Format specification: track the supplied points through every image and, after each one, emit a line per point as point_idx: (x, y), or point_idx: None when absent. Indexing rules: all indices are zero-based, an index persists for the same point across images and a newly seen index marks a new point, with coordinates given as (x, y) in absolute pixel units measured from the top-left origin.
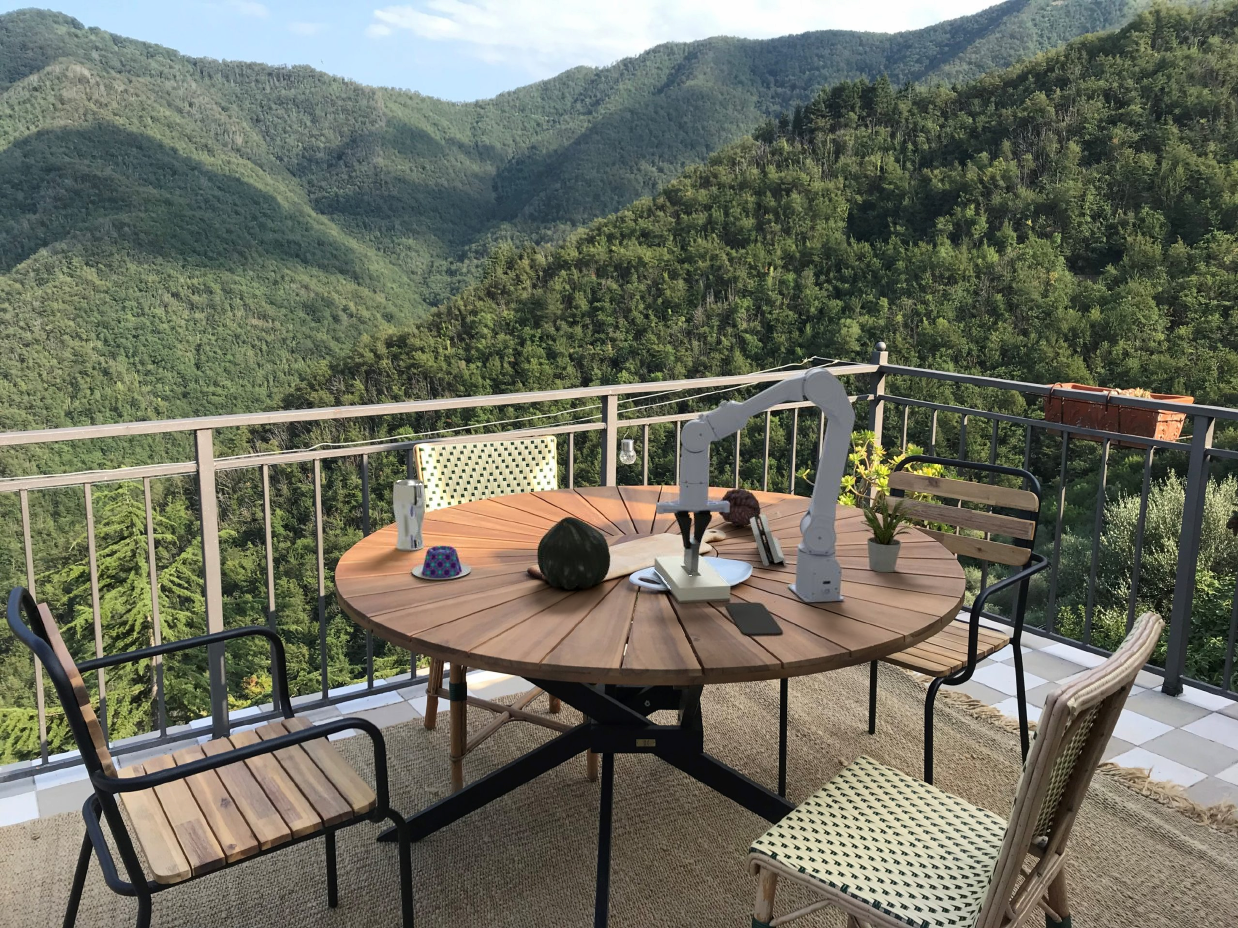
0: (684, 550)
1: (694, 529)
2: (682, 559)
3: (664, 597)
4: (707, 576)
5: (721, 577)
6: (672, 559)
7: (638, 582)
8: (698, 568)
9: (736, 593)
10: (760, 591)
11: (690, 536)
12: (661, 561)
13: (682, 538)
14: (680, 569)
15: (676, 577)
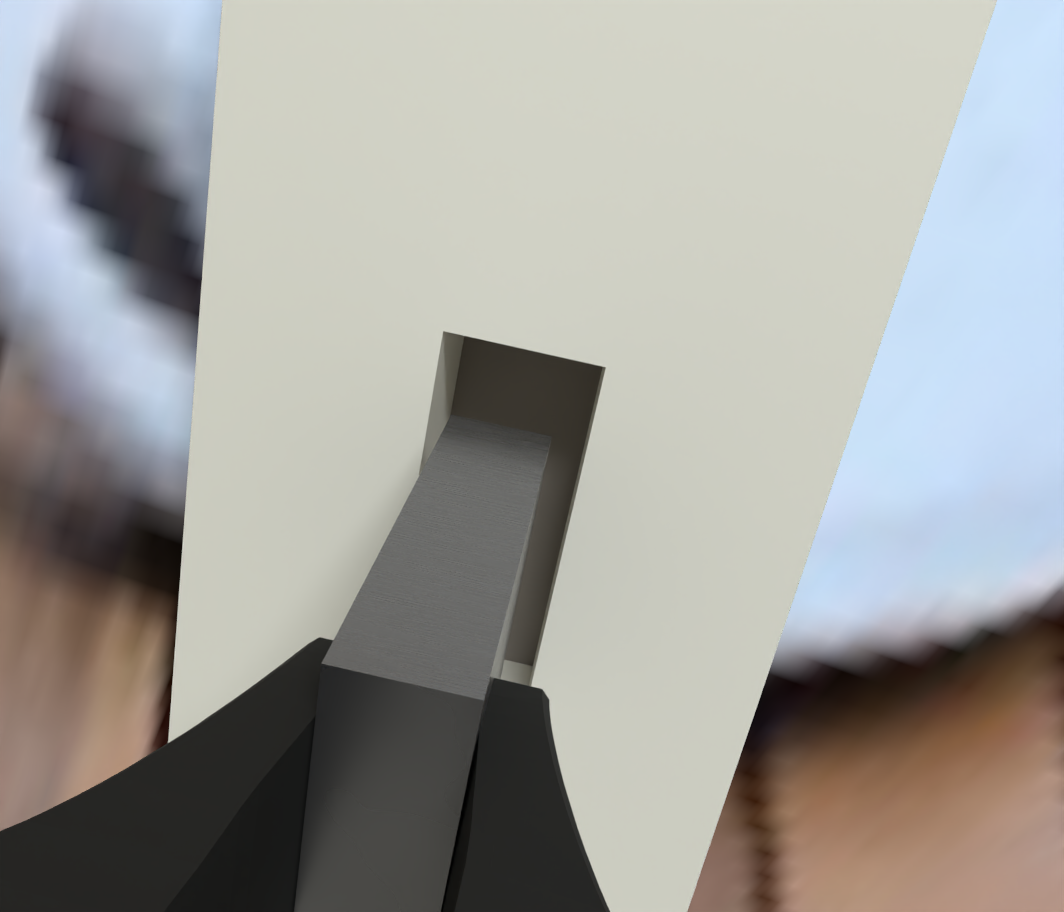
0: (406, 503)
1: (465, 868)
2: (610, 66)
3: (142, 679)
4: (567, 781)
5: (696, 855)
6: (464, 9)
7: (9, 216)
8: (619, 513)
9: (807, 823)
10: (1056, 862)
11: (400, 754)
12: (264, 56)
13: (242, 695)
14: (383, 469)
15: (228, 689)
